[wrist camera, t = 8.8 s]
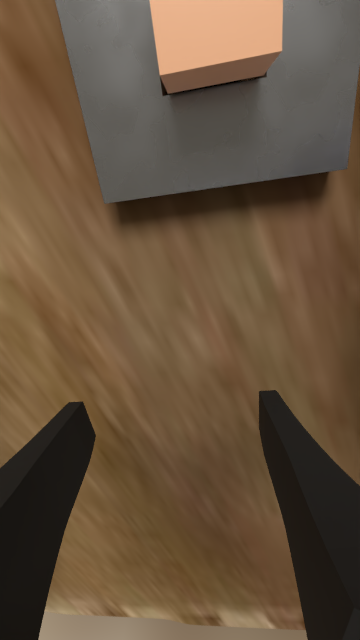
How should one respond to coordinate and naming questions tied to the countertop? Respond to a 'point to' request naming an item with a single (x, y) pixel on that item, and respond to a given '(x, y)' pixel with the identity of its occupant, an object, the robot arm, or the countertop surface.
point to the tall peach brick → (215, 40)
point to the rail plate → (212, 102)
